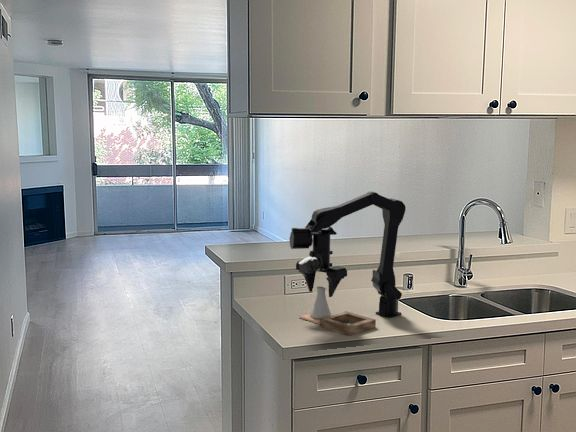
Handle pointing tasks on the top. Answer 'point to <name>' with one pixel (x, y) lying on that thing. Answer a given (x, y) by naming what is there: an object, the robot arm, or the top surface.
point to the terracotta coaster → (310, 318)
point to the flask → (320, 305)
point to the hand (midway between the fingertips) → (320, 294)
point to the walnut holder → (335, 324)
